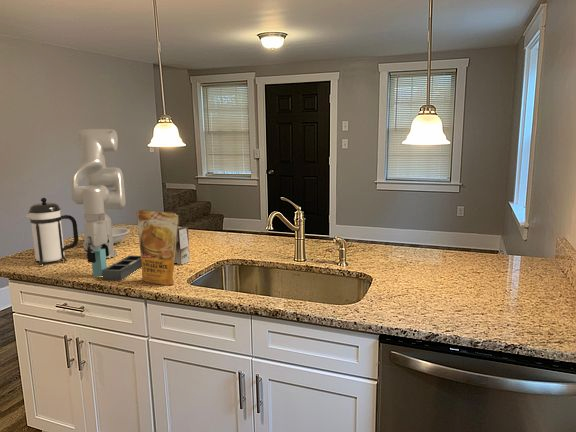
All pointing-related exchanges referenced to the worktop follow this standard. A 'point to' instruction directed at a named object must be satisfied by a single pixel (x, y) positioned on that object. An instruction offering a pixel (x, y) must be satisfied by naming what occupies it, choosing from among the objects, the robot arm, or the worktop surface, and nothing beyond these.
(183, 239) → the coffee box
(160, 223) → the pancake mix bag
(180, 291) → the worktop surface
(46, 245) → the coffee press
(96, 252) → the peg
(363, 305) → the worktop surface
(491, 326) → the worktop surface
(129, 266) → the rail
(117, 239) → the soup bowl
